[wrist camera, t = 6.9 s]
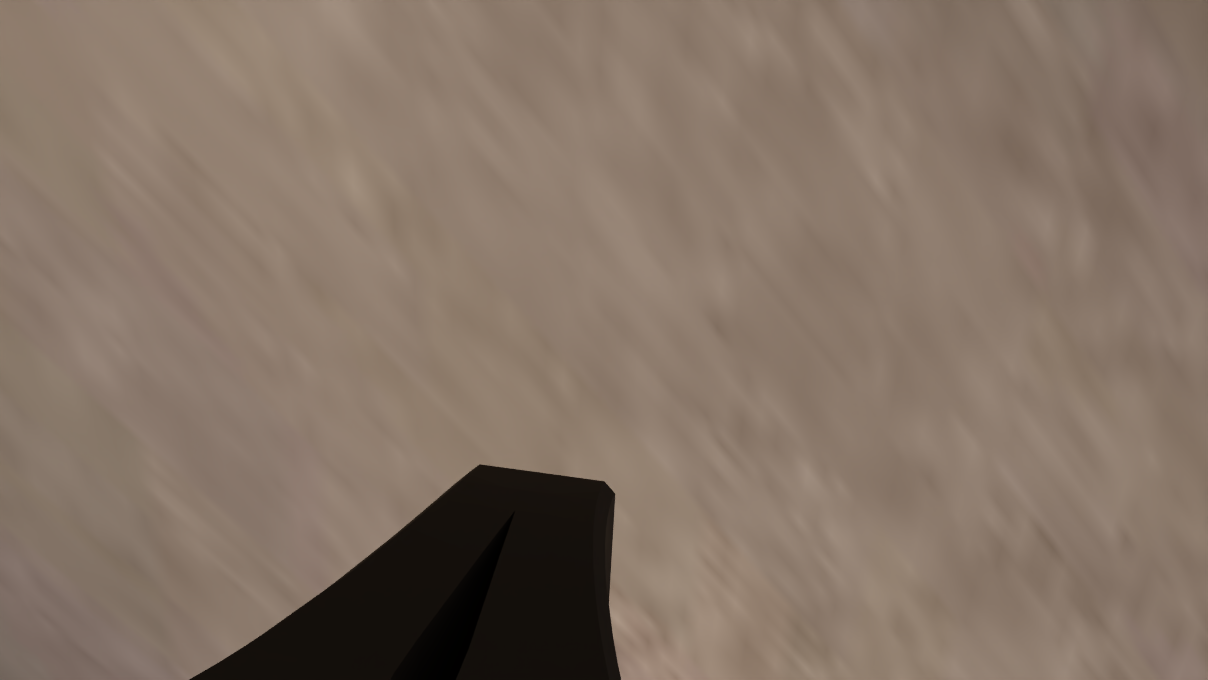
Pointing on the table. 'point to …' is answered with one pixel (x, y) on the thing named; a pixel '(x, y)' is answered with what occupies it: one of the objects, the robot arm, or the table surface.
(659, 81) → the table surface
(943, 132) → the table surface
